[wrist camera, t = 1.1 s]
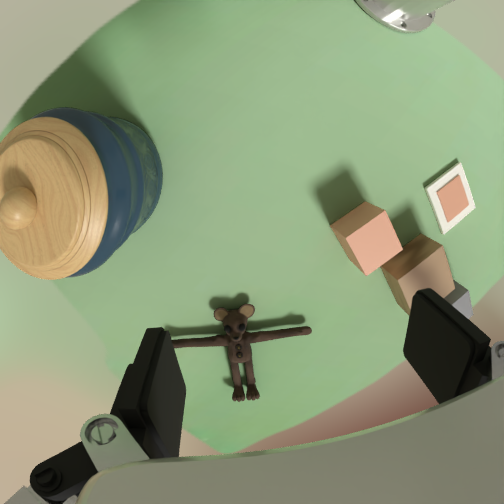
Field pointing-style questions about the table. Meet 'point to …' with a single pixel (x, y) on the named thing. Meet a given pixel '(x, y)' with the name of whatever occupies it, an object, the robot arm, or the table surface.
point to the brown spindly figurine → (240, 345)
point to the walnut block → (418, 271)
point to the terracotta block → (367, 237)
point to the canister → (74, 190)
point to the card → (450, 197)
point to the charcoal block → (460, 300)
